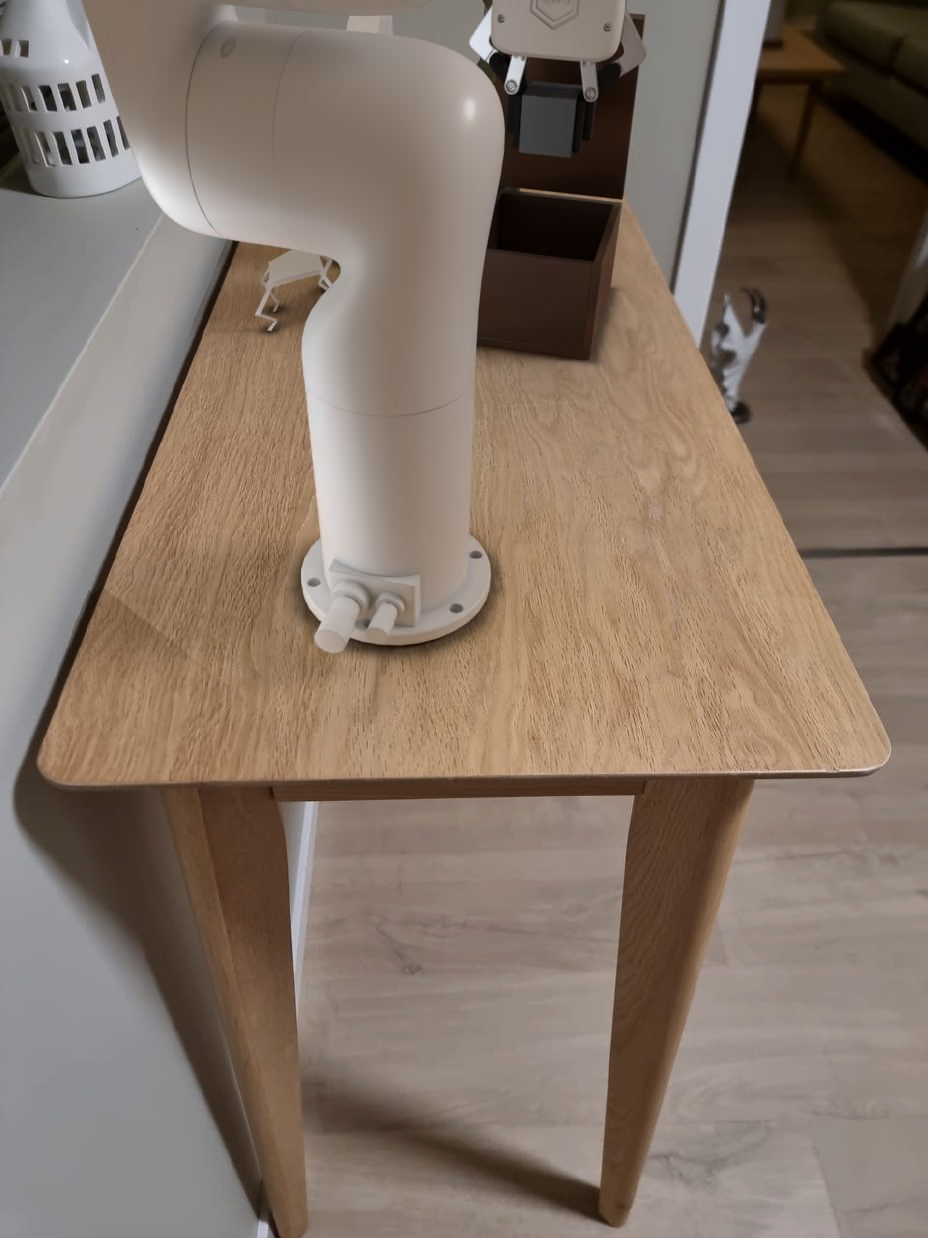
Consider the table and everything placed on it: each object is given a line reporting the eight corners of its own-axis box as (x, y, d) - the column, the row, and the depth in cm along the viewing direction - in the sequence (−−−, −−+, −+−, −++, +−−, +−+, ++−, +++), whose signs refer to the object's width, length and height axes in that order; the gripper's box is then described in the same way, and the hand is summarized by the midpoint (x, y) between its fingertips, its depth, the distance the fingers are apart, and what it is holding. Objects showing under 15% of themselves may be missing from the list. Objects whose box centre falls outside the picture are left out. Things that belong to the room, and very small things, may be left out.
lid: (644, 18, 75) (652, -13, 78) (493, 6, 77) (506, -24, 80) (622, 199, 89) (630, 168, 92) (495, 185, 91) (506, 155, 94)
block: (570, 157, 77) (575, 99, 74) (518, 152, 78) (522, 94, 75) (577, 141, 80) (583, 85, 77) (528, 136, 81) (532, 80, 78)
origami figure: (340, 338, 87) (336, 287, 83) (252, 333, 87) (245, 282, 83) (359, 284, 95) (356, 236, 92) (279, 279, 96) (273, 231, 92)
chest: (589, 360, 85) (601, 265, 79) (456, 341, 87) (458, 248, 81) (610, 289, 96) (622, 202, 90) (492, 274, 98) (496, 187, 92)
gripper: (444, -130, 65) (442, 149, 78) (686, -115, 62) (643, 170, 75) (469, -140, 70) (463, 122, 83) (692, -127, 68) (651, 142, 80)
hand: (549, 143), depth 79 cm, fingers closed on block, 4 cm apart
